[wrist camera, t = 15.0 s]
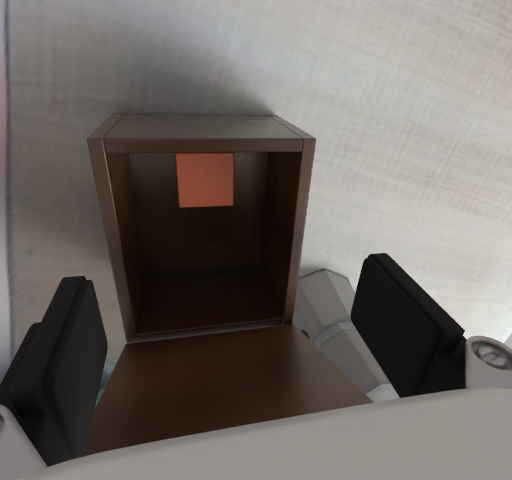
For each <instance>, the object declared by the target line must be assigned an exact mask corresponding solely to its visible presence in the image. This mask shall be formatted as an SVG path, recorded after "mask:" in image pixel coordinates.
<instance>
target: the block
mask: <svg viewBox="0 0 512 480" xmlns="http://www.w3.org/2000/svg"><path fill="white" fill-rule="evenodd" d="M175 161H176V175H177V188H178V202H179V207H180V208H182V207H207V206H232V205H233V181H234V153H233V152H204V153H175Z"/></svg>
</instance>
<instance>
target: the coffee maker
mask: <svg viewBox="0 0 512 480" xmlns="http://www.w3.org/2000/svg"><path fill="white" fill-rule="evenodd" d="M354 297H355V292H354V290H353V288H352V286H351V284H350V282H349V280H348V278H346V277H344V276H342V275H339V274H337V273H334V272H332V271H329V270H327V269H323V270H320V271H317V272H314V273H311V274H308V275H306V276H303V277H300V278H298V283H297V291H296V299H295V307H294V315H293V322H292V324H294V325H295V326H296V327H297V328H298V329H299V330H300V331H301V332H302V333H303V334H305V335H306V336H307V337H308V338H309V339H310V340H311V341H312V342H313V343H314V344H315V345H316V346H317V347H318V348H319V349H320V350H321V351H322V352H323V353H324V354H325V355H326V356H327V357H328V358H329V359H330V360H331V361H332V362H333V363H334V364H335V365H336V366H337V367H338V368H339V369H340V370H342V371H343V372H344V373H345V374H346V375H347V376H348V377H349V378H350V379H351V380H352V381H353V382H354V383H355V384H356V385H357V386H358V387H359V388H360V389H361V390H362V391H363V392H364V393H365V394H366V395H367V396H368V397H369V398H370V399H371V400H372V401H373V402H374V403H375V402H381V401H387V400H393V399H399V398H400V397H399V396H398V394H397V393H396V391H395V390H394V388H393V386H392V385H391V383H390V382H389V380H388V379H387V377H386V375H385V374H384V372H383V371H382V369H381V367H380V366H379V364H378V363H377V361H376V360H375V358H374V356H373V355H372V353H371V352H370V350H369V349H368V347H367V345H366V344H365V342H364V341H363V339H362V338H361V336H360V334H359V333H358V331H357V330H356V328H355V327H354V325H353V323H352V321H351V317H350V314H351V309H352V305H353V301H354Z"/></svg>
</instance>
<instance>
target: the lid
mask: <svg viewBox="0 0 512 480" xmlns="http://www.w3.org/2000/svg"><path fill="white" fill-rule="evenodd" d="M369 403H374V402H373V401H372V400H371V399H370V398H369V397H368V396H367V395H366V394H365V393H364V392H363V391H362V390H361V389H360V388H359V387H358V386H357V385H356V384H355V383H354V382H353V381H352V380H351V379H350V378H349V377H348V376H347V375H346V374H345V373H344V372H343V371H342V370H340V369H339V368H338V367H337V366H336V365H335V364H334V363H333V362H332V361H331V360H330V359H329V358H328V357H327V356H326V355H325V354H324V353H323V352H322V351H321V350H320V349H319V348H318V347H317V346H316V345H315V344H314V343H313V342H312V341H311V340H310V339H309V338H308V337H307V336H306V335H305V334H303V333H302V332H301V331H300V330H299V329H298V328H297V327H296V326H295V325H294V324H290V325H282V326H273V327H265V328H256V329H248V330H239V331H231V332H223V333H214V334H206V335H197V336H189V337H180V338H172V339H163V340H155V341H146V342H138V343H130V344H126V345H125V347H124V349H123V351H122V353H121V355H120V357H119V359H118V361H117V363H116V365H115V368H114V370H113V372H112V374H111V376H110V378H109V380H108V382H107V384H106V386H105V388H104V391H103V393H102V395H101V397H100V399H99V401H98V403H97V405H96V407H95V409H94V413H93V417H92V422H91V426H90V431H89V435H88V440H87V444H86V449H85V453H84V456H88V455H92V454H96V453H100V452H105V451H110V450H115V449H120V448H125V447H130V446H135V445H140V444H145V443H150V442H155V441H160V440H165V439H171V438H177V437H182V436H188V435H193V434H199V433H204V432H210V431H215V430H221V429H226V428H232V427H237V426H243V425H249V424H254V423H260V422H266V421H271V420H277V419H283V418H288V417H294V416H300V415H305V414H311V413H317V412H323V411H328V410H334V409H340V408H346V407H352V406H358V405H363V404H369ZM84 456H83V457H84Z"/></svg>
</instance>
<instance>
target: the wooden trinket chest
mask: <svg viewBox="0 0 512 480" xmlns="http://www.w3.org/2000/svg"><path fill="white" fill-rule="evenodd" d="M87 142H88V147H89V152H90V157H91V163H92V168H93V173H94V178H95V183H96V188H97V193H98V198H99V204H100V209H101V214H102V219H103V224H104V229H105V234H106V239H107V245H108V250H109V255H110V260H111V265H112V270H113V275H114V280H115V286H116V291H117V296H118V301H119V306H120V311H121V316H122V321H123V327H124V332H125V337H126V342H127V344H129V343H137V342H146V341H154V340H163V339H171V338H180V337H188V336H197V335H205V334H214V333H222V332H230V331H239V330H247V329H256V328H264V327H273V326H281V325H290V324H292V322H293V315H294V307H295V299H296V291H297V283H298V276H299V268H300V260H301V252H302V244H303V237H304V229H305V221H306V213H307V205H308V198H309V190H310V182H311V174H312V167H313V159H314V151H315V143H316V138H314V137H312V136H311V135H309V134H307V133H306V132H304V131H302V130H301V129H299V128H297V127H296V126H294V125H292V124H291V123H289V122H287V121H286V120H284V119H282V118H281V117H279V116H277V115H221V114H157V113H113V114H112V115H111V116H110V117H109V118H108V119H107V120H106V121H105V122H104V123H103V124H102V125H101V126H100V127H99V128H98V129H97V130H96V131H95V132H94V133H92V134H91V135H90V136H89V137H88V138H87ZM204 152H233V153H234V181H233V205H232V206H207V207H182V208H180V207H179V202H178V188H177V175H176V161H175V153H204Z"/></svg>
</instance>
